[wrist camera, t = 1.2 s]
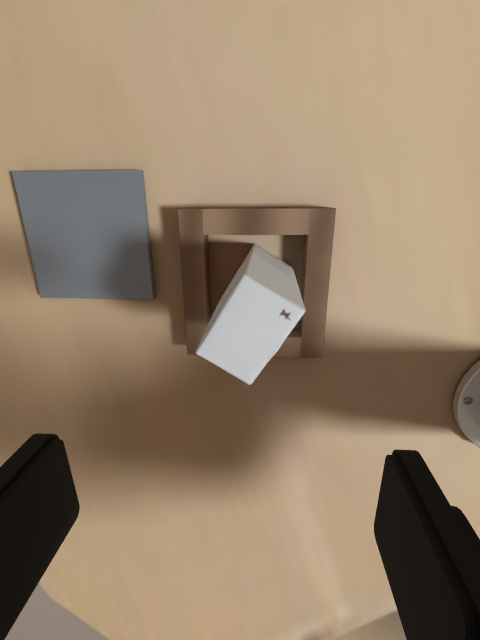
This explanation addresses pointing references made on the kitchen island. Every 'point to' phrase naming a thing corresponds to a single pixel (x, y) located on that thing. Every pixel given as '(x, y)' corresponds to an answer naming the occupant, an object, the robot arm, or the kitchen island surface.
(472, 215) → the kitchen island surface
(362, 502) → the kitchen island surface
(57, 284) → the slate mat
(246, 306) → the skincare box
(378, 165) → the kitchen island surface
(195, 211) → the pocket holder
